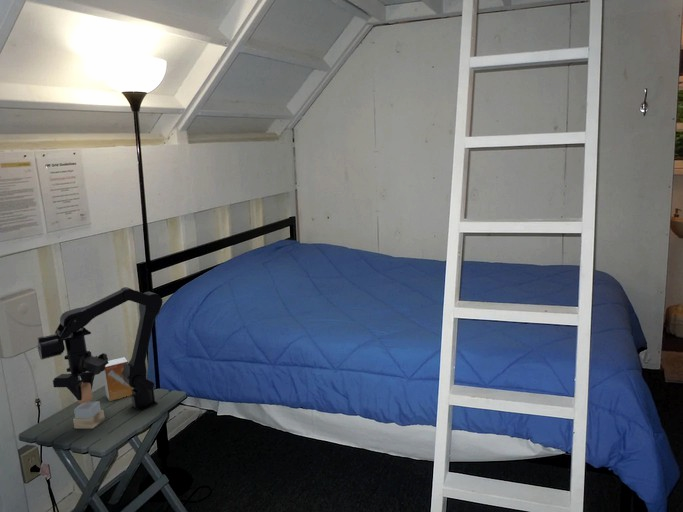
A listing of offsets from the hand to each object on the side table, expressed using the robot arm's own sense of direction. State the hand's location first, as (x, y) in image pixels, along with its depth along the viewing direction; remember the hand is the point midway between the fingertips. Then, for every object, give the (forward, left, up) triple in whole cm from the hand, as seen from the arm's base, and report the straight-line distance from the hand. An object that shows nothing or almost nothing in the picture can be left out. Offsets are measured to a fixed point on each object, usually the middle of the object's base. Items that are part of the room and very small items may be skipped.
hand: (84, 396), depth 176 cm
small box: (-16, -14, -9) cm, 23 cm away
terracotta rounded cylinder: (0, 0, -1) cm, 1 cm away
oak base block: (0, 0, -10) cm, 10 cm away
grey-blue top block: (0, 0, -6) cm, 6 cm away
